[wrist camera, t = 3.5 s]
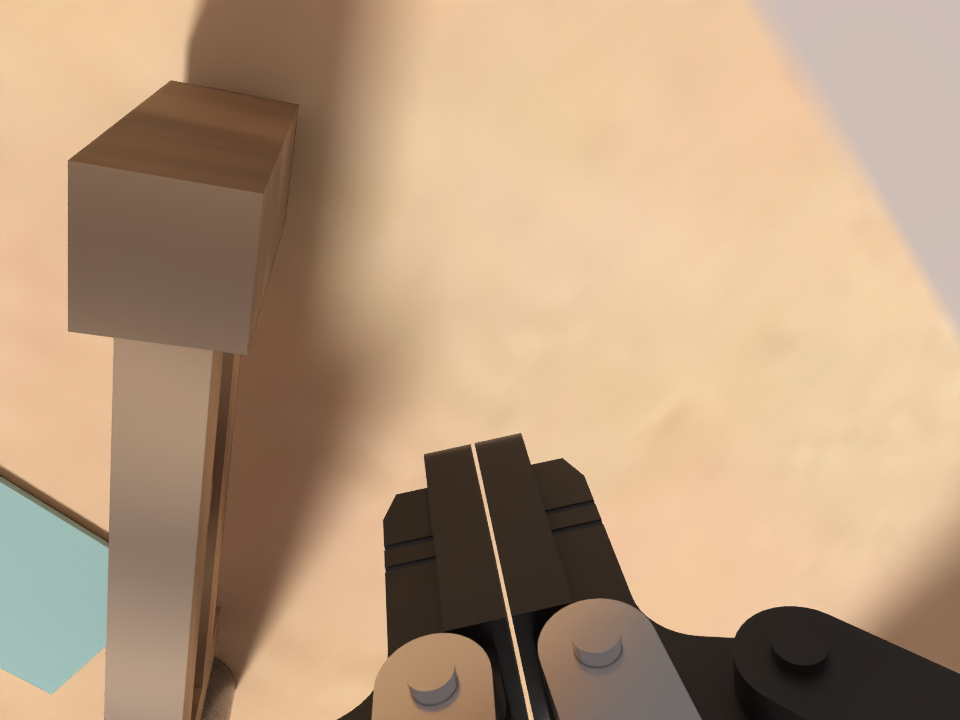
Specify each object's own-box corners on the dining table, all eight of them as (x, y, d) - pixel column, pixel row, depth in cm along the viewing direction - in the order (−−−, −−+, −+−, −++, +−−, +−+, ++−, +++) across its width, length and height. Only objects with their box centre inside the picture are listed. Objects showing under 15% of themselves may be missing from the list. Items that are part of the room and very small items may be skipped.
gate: (235, 646, 26) (193, 874, 20) (142, 640, 26) (68, 873, 20) (298, 105, 19) (262, 193, 13) (170, 80, 19) (68, 160, 12)
